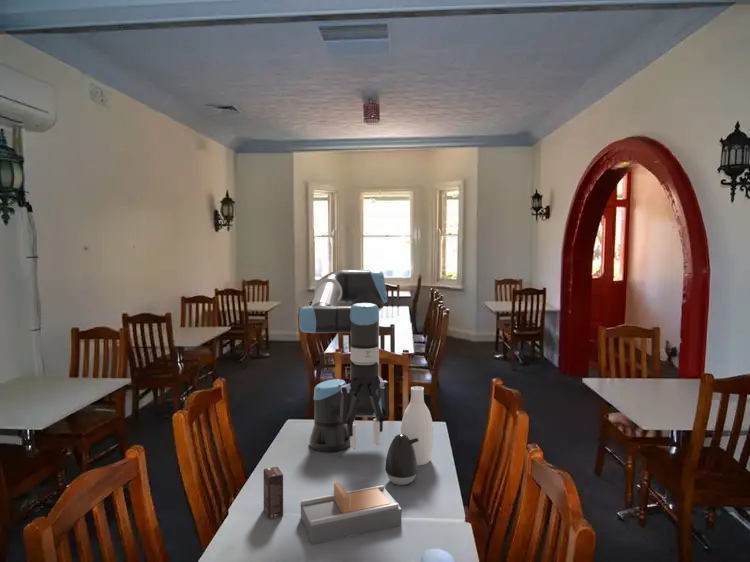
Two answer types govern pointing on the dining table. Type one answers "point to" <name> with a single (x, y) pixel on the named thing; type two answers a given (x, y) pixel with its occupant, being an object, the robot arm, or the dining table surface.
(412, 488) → the dining table surface
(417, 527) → the dining table surface
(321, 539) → the grey sliding-lid case
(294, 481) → the dining table surface
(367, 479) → the dining table surface
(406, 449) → the pump dispenser
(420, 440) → the bottle
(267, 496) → the box
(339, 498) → the shutter
